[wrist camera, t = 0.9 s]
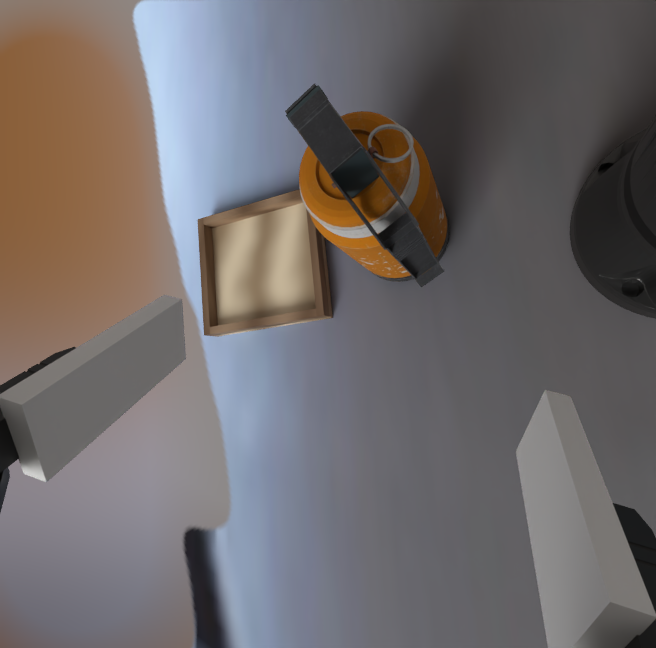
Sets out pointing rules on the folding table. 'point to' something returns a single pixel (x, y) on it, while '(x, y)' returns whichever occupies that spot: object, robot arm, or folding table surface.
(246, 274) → the wooden tray
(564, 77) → the folding table surface
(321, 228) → the canister
